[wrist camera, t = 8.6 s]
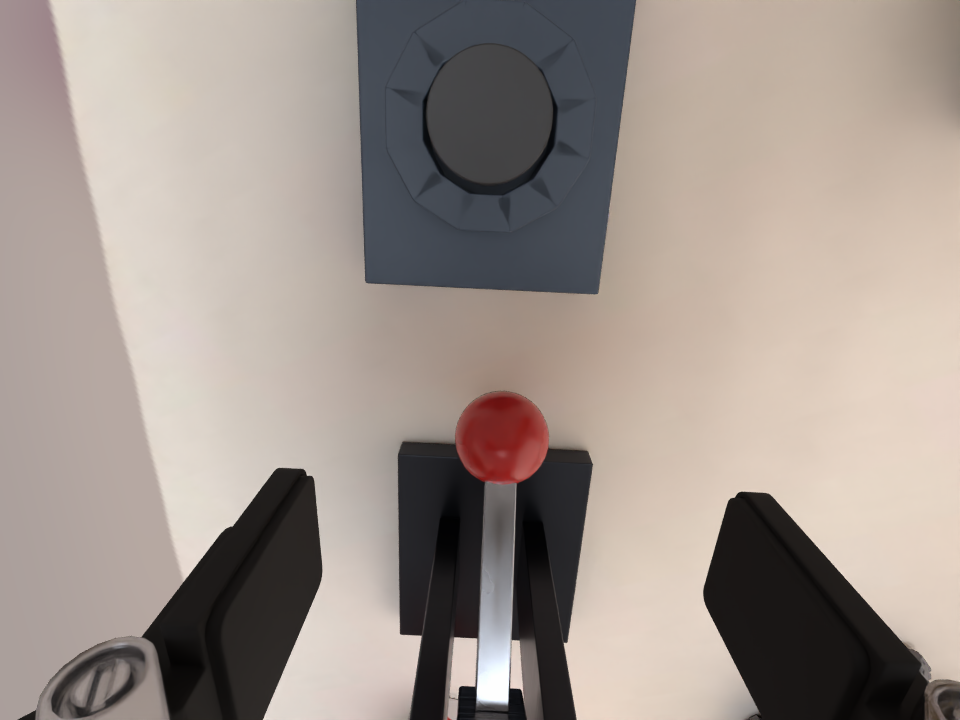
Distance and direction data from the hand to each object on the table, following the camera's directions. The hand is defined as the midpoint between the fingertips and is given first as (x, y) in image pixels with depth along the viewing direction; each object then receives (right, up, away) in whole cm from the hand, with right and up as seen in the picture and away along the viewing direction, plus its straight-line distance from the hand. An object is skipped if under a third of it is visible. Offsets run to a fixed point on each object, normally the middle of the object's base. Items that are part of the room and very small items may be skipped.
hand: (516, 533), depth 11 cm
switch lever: (0, -4, +7) cm, 8 cm away
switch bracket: (0, -5, +14) cm, 15 cm away
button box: (0, +12, +8) cm, 15 cm away
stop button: (0, +11, +4) cm, 12 cm away
